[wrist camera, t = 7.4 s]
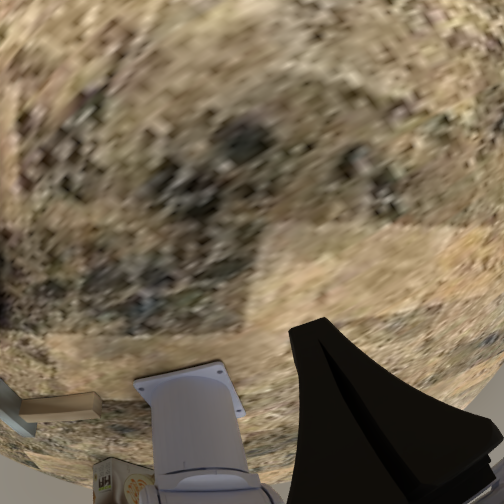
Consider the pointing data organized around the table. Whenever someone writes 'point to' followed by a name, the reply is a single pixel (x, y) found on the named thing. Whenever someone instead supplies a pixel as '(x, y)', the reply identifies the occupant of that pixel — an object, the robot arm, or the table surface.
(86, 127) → the table surface
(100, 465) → the coffee box
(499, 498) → the robot arm
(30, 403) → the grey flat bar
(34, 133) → the table surface
